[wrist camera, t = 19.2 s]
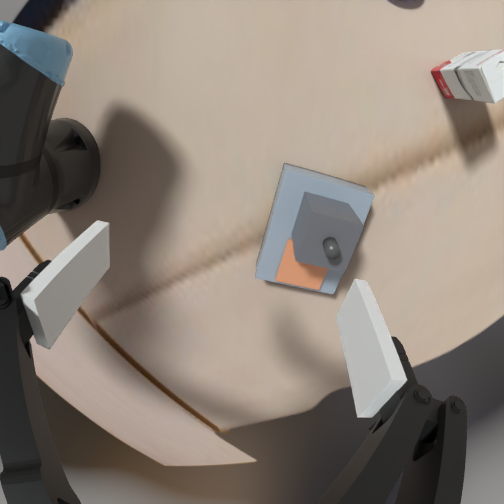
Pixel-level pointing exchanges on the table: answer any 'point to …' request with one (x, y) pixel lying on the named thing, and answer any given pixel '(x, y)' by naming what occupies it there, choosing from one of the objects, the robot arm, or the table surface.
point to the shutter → (299, 270)
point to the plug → (325, 232)
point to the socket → (287, 209)
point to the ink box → (473, 76)
